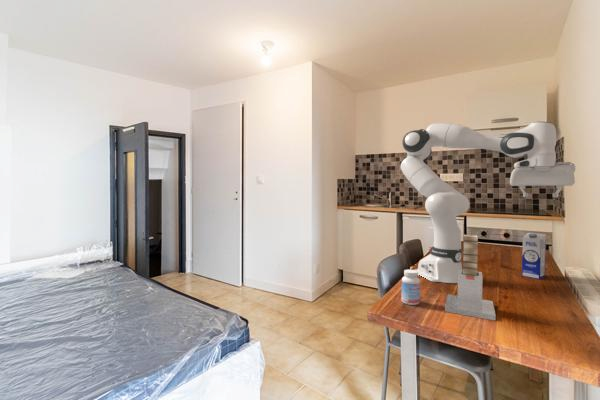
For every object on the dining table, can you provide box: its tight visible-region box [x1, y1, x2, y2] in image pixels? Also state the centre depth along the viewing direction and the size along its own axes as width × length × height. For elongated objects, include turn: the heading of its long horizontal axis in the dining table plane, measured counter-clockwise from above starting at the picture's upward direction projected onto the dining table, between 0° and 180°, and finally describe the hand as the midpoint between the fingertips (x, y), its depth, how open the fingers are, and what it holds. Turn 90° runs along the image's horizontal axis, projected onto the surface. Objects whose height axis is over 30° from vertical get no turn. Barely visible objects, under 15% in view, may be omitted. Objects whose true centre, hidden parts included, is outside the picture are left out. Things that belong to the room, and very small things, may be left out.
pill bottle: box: [400, 269, 421, 306], centre depth 107 cm, size 6×6×11 cm
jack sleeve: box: [444, 269, 496, 321], centre depth 101 cm, size 14×14×12 cm
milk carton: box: [521, 232, 547, 280], centre depth 139 cm, size 7×7×20 cm
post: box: [462, 234, 479, 276], centre depth 101 cm, size 4×4×17 cm
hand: (540, 197), depth 120 cm, fingers open, 8 cm apart
